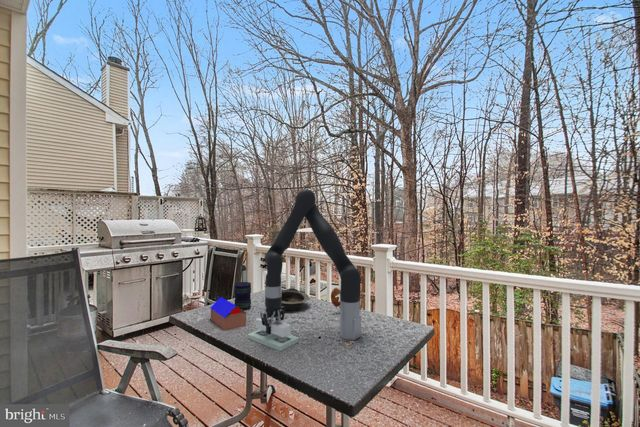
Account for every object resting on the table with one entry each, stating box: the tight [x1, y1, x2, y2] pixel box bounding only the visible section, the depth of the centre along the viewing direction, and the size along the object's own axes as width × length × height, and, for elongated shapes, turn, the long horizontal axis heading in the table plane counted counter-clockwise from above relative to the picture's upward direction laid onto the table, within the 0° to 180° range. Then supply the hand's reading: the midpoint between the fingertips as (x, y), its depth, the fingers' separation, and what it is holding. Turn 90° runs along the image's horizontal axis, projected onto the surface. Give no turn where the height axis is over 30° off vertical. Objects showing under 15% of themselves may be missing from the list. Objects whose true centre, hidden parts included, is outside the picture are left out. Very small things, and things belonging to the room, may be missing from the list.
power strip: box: [255, 317, 292, 343], centre depth 145 cm, size 18×5×7 cm, turn 52°
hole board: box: [247, 329, 300, 352], centre depth 145 cm, size 21×12×2 cm, turn 52°
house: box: [209, 296, 247, 331], centre depth 167 cm, size 12×20×12 cm, turn 39°
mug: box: [330, 287, 341, 308], centre depth 182 cm, size 15×8×15 cm, turn 84°
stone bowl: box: [281, 288, 310, 311], centre depth 194 cm, size 25×25×9 cm
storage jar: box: [233, 281, 252, 312], centre depth 191 cm, size 10×10×15 cm
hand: (273, 331), depth 145 cm, fingers closed on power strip, 5 cm apart
